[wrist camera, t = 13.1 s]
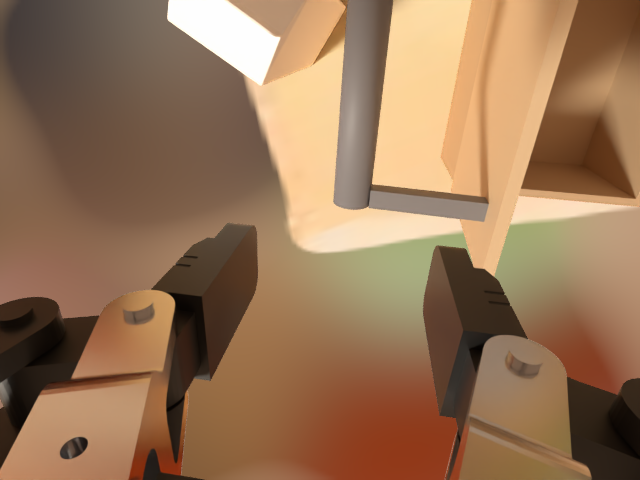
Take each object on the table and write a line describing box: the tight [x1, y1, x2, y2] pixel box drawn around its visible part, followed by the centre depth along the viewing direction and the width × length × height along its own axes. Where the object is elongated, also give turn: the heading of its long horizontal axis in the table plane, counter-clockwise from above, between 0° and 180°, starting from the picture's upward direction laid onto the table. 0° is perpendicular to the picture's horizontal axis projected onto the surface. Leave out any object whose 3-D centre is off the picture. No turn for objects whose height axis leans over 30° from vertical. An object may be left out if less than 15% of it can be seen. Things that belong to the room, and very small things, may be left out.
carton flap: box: [333, 0, 578, 276], centre depth 23 cm, size 16×14×9 cm
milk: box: [168, 0, 346, 86], centre depth 27 cm, size 6×6×22 cm
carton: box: [441, 0, 640, 207], centre depth 32 cm, size 16×14×10 cm
